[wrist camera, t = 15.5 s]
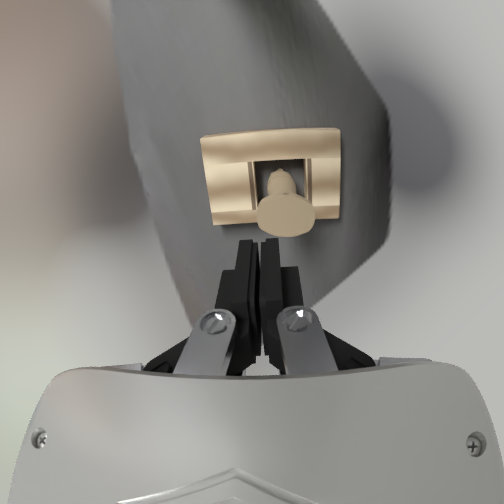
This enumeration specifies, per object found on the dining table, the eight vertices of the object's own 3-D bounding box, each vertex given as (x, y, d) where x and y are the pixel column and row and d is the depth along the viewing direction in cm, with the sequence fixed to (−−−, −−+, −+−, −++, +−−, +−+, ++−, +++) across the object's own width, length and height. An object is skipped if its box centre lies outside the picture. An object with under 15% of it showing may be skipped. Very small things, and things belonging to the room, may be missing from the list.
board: (204, 135, 40) (199, 139, 37) (335, 127, 38) (340, 130, 36) (216, 217, 47) (213, 225, 45) (334, 210, 46) (339, 218, 43)
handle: (298, 192, 44) (312, 237, 32) (259, 190, 44) (256, 235, 32) (301, 164, 42) (317, 198, 29) (259, 162, 42) (257, 195, 29)
